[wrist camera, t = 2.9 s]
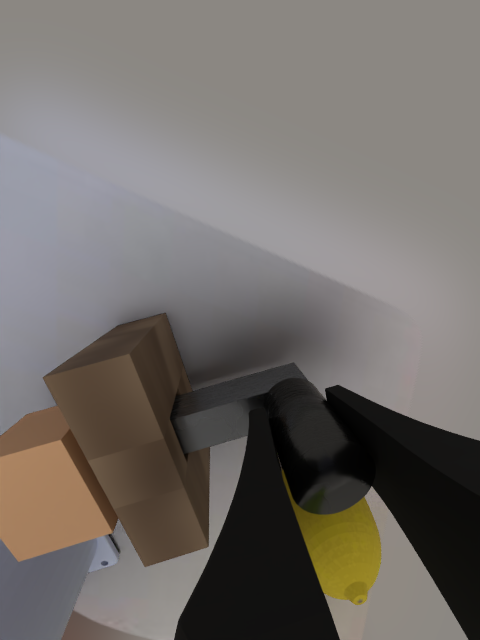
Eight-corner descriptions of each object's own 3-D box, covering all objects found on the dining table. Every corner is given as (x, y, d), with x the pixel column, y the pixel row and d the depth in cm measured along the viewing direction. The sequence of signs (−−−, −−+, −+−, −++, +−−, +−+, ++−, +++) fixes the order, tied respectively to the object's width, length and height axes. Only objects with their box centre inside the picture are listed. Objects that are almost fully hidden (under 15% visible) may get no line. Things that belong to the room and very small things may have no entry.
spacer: (68, 484, 13) (18, 562, 10) (25, 410, 12) (-51, 471, 8) (138, 463, 13) (112, 533, 10) (103, 389, 12) (60, 439, 9)
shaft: (50, 472, 13) (-83, 646, 7) (25, 431, 12) (-147, 589, 6) (307, 397, 14) (379, 499, 8) (299, 354, 13) (371, 431, 7)
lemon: (294, 417, 17) (358, 542, 10) (345, 448, 19) (439, 580, 11) (250, 470, 18) (278, 625, 10) (303, 496, 19) (362, 651, 12)
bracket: (169, 453, 17) (145, 567, 11) (117, 325, 14) (42, 377, 8) (209, 441, 17) (208, 546, 11) (165, 313, 14) (129, 353, 8)
